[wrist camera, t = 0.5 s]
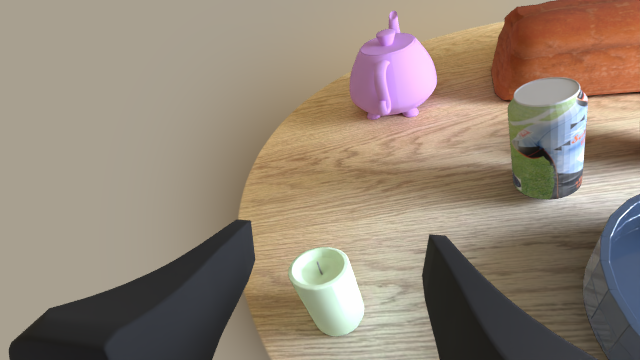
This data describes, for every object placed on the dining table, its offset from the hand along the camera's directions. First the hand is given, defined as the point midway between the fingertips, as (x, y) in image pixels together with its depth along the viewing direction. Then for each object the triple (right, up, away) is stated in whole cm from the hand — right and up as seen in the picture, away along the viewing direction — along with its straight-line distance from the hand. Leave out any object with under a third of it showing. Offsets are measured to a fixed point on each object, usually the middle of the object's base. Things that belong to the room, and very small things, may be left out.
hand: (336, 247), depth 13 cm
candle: (+1, -10, +18) cm, 21 cm away
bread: (+40, +18, +35) cm, 57 cm away
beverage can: (+23, +2, +23) cm, 33 cm away
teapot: (+13, +16, +44) cm, 49 cm away
